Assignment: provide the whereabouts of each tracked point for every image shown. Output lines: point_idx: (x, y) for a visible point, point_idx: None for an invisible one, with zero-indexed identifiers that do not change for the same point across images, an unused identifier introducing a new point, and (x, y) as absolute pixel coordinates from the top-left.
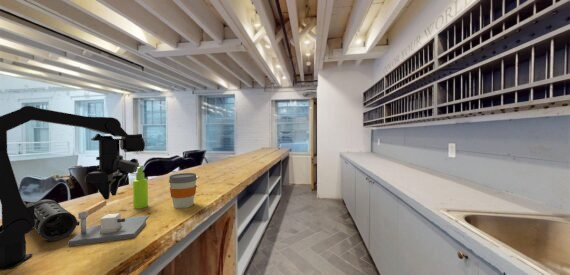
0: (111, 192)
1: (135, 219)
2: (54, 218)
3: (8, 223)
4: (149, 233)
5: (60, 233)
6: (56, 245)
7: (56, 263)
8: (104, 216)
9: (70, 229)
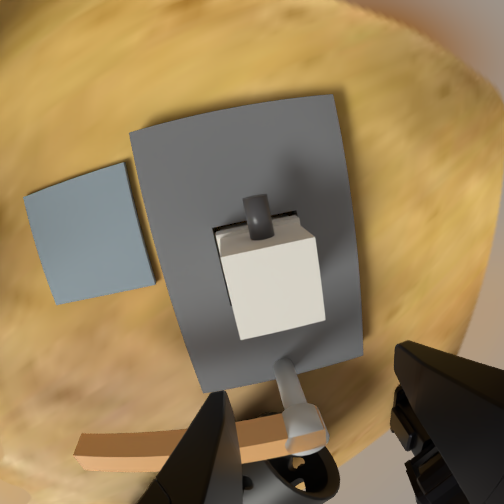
0: (238, 446)
1: (75, 238)
2: None
3: None
4: (278, 45)
5: None
6: (337, 388)
7: (463, 274)
8: (283, 326)
9: None
